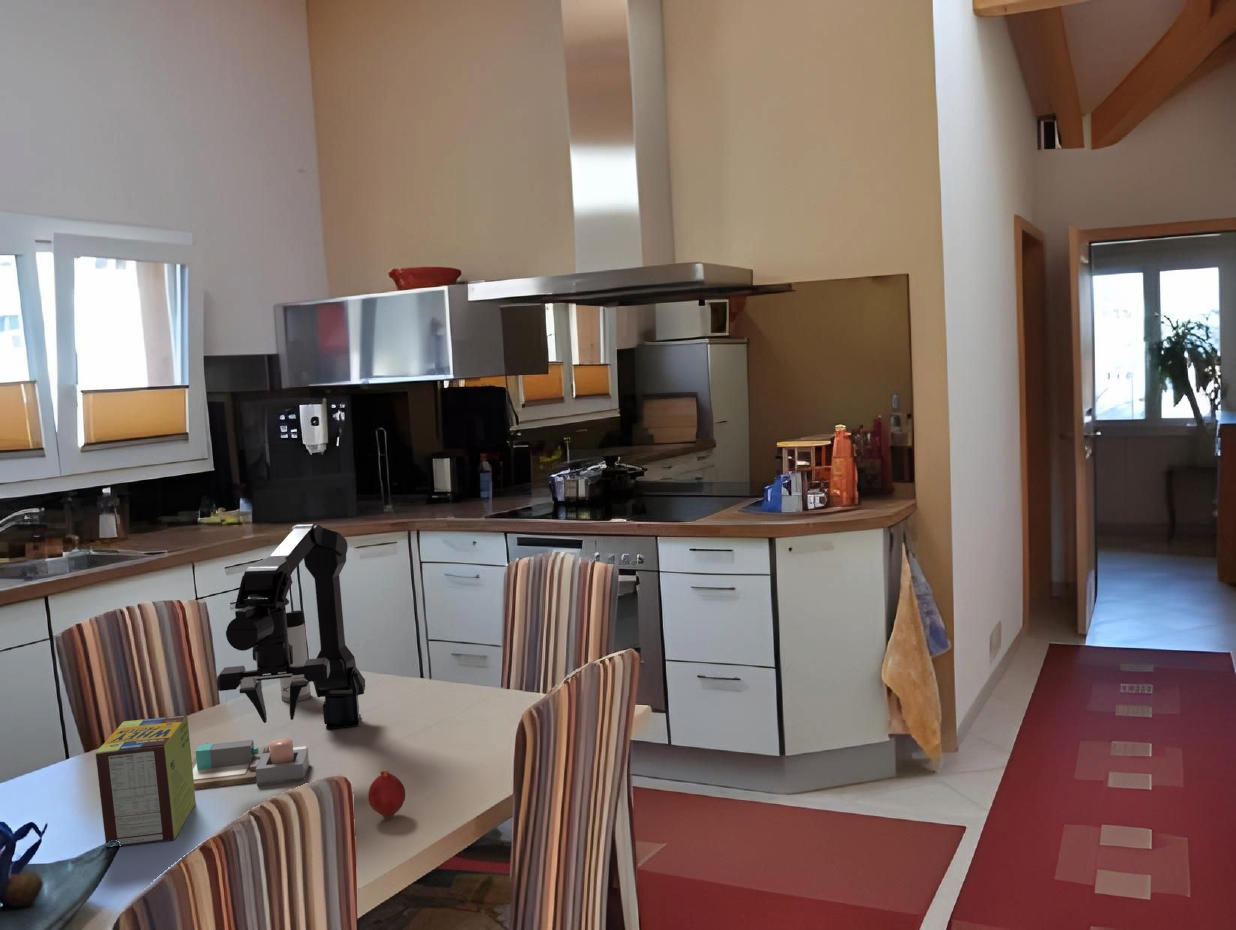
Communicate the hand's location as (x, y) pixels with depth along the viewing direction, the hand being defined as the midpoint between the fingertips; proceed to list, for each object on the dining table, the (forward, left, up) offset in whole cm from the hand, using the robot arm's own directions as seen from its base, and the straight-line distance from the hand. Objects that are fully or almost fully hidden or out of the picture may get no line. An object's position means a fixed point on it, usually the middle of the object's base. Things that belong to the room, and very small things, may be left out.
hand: (278, 720), depth 193 cm
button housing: (0, 0, -10) cm, 10 cm away
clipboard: (+11, -6, -10) cm, 16 cm away
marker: (+11, -6, -9) cm, 15 cm away
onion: (-19, +25, -10) cm, 33 cm away
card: (+1, -11, -10) cm, 15 cm away
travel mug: (+4, -48, -10) cm, 49 cm away
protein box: (+19, +16, -10) cm, 27 cm away
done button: (0, 0, -8) cm, 8 cm away
